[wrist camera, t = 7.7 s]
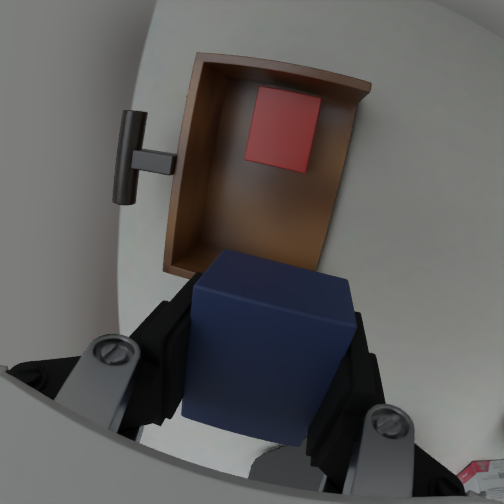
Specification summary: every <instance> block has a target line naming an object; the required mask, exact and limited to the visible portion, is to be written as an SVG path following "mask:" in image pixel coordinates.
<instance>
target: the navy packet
mask: <svg viewBox="0 0 504 504" xmlns="http://www.w3.org/2000/svg"><path fill="white" fill-rule="evenodd" d="M190 318H191V322H190V331H189V341H188V351H187V361H186V372H185V384H184V396H183V398H182V412H181V415H182V416H183V417H185V418H188V419H191V420H194V421H197V422H200V423H204V424H207V425H210V426H213V427H217V428H220V429H223V430H227V431H231V432H234V433H238V434H242V435H245V436H249V437H253V438H257V439H262V440H266V441H270V442H275V443H279V444H284V445H289V446H294V447H300V446H301V444H302V442H303V440H304V439H305V437H306V435H307V433H308V428H309V426H310V424H311V423H312V421H313V419H314V417H315V415H316V413H317V411H318V409H319V407H320V405H321V403H322V401H323V399H324V397H325V394H326V392H327V390H328V388H329V386H330V384H331V382H332V380H333V377H334V375H335V373H336V371H337V369H338V366H339V364H340V362H341V360H342V357H345V355H346V352H347V350H348V348H349V345H350V343H351V341H352V338H353V336H354V333H355V331H356V329H357V323H356V318H355V312H354V307H353V302H352V297H351V292H350V287H349V283H348V280H347V279H343V278H339V277H335V276H331V275H327V274H323V273H319V272H315V271H311V270H307V269H303V268H299V267H295V266H291V265H287V264H283V263H279V262H275V261H271V260H267V259H263V258H259V257H255V256H251V255H247V254H243V253H239V252H235V251H231V250H227V249H226V250H223V252H222V253H221V254H220V255H219V256H218V257H217V259H216V260H215V261H214V262H213V263H212V265H211V266H210V267H209V268H208V269H207V270H206V272H205V273H204V274H203V275H202V276H201V277H200V279H199V280H198V281H197V282H196V283H195V285H194V287H193V295H192V304H191V312H190Z"/></svg>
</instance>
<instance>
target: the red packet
mask: <svg viewBox="0 0 504 504" xmlns="http://www.w3.org/2000/svg"><path fill="white" fill-rule="evenodd" d="M321 102H322V98H320V97H316V96H312V95H307V94H302V93H298V92H293V91H288V90H282V89H277V88H271V87H266V86H259V88H258V93H257V98H256V103H255V107H254V112H253V117H252V122H251V127H250V132H249V137H248V142H247V147H246V152H245V157H244V160H246V161H251V162H256V163H260V164H265V165H269V166H274V167H278V168H283V169H287V170H291V171H296V172H300V173H304V174H305V173H306V171H307V166H308V162H309V158H310V153H311V149H312V144H313V140H314V135H315V130H316V126H317V121H318V117H319V112H320V107H321Z"/></svg>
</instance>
